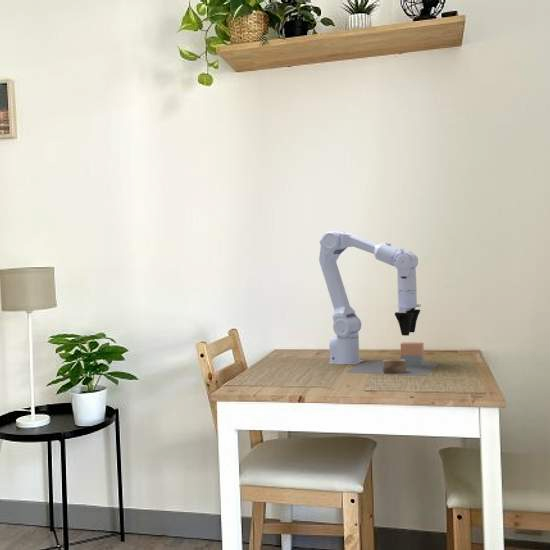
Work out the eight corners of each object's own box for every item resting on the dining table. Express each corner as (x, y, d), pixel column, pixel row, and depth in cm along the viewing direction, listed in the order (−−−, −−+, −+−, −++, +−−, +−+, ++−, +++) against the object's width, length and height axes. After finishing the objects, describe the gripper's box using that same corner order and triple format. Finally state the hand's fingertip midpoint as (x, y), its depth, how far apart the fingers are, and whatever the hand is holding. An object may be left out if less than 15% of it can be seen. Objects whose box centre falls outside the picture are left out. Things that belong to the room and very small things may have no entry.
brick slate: (401, 366, 194) (400, 355, 194) (403, 364, 197) (402, 353, 197) (421, 367, 191) (421, 355, 191) (423, 365, 194) (423, 354, 194)
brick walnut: (384, 373, 184) (383, 361, 184) (383, 371, 187) (382, 359, 187) (406, 373, 184) (405, 360, 183) (404, 371, 187) (404, 359, 187)
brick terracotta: (400, 355, 194) (400, 343, 194) (403, 353, 197) (402, 342, 197) (421, 355, 191) (421, 344, 191) (423, 354, 194) (423, 342, 194)
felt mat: (346, 373, 189) (346, 372, 189) (364, 362, 207) (364, 361, 207) (426, 377, 179) (426, 375, 179) (438, 364, 197) (438, 363, 197)
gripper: (414, 292, 187) (416, 337, 188) (424, 289, 200) (425, 331, 201) (391, 292, 190) (392, 336, 191) (402, 289, 203) (404, 330, 204)
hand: (408, 333), depth 196 cm, fingers open, 7 cm apart
